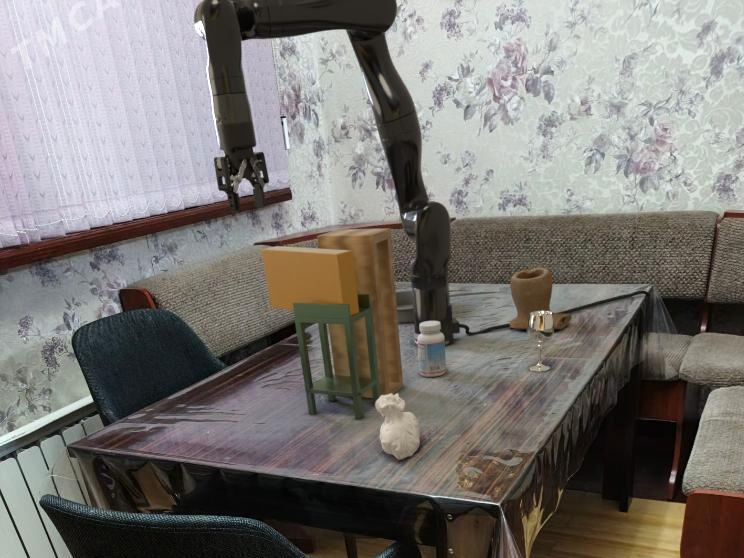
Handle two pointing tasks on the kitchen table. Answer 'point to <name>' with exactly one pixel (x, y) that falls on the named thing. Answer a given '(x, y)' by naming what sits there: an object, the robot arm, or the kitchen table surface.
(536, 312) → the wineglass
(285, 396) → the kitchen table surface
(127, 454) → the kitchen table surface
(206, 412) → the kitchen table surface
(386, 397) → the white tied sack
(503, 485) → the kitchen table surface
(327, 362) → the book rack
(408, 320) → the cake pan
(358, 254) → the tall stand
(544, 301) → the brown clay vessel
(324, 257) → the book
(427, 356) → the pill bottle
